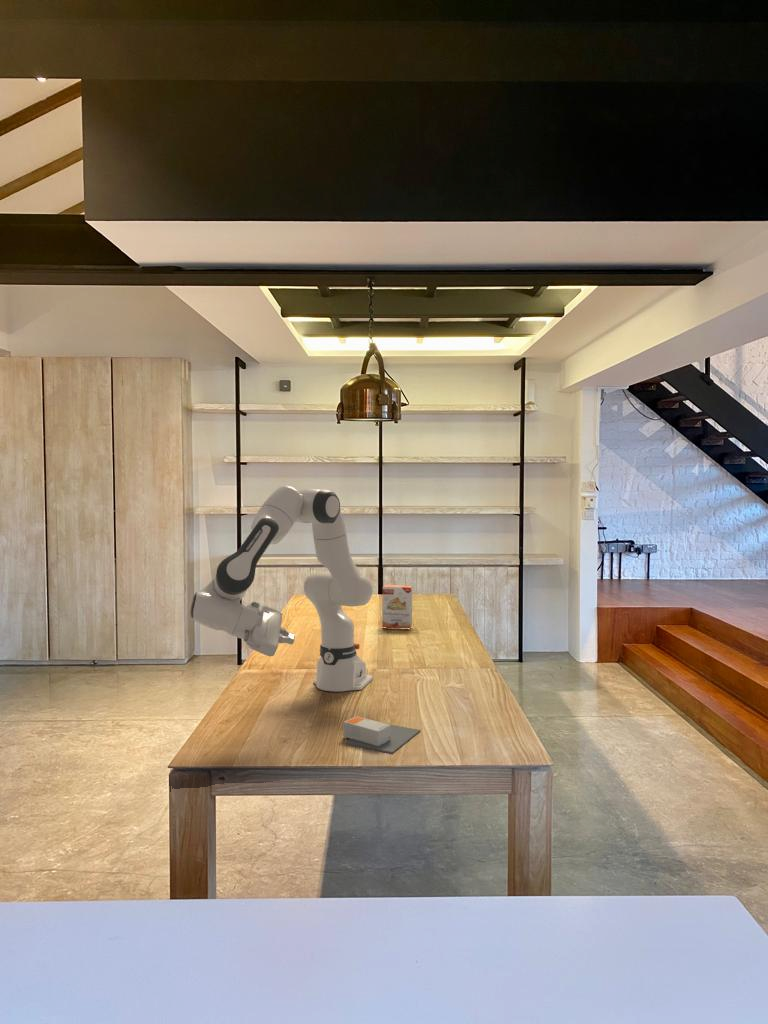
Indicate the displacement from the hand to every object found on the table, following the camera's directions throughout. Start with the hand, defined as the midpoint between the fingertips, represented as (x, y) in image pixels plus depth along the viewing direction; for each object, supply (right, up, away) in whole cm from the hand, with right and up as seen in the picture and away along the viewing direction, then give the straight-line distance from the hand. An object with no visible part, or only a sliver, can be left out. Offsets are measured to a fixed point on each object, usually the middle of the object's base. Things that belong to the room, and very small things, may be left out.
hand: (293, 639), depth 191 cm
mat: (+25, -25, -7) cm, 37 cm away
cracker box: (+32, -21, +138) cm, 143 cm away
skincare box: (+16, -23, -5) cm, 28 cm away
